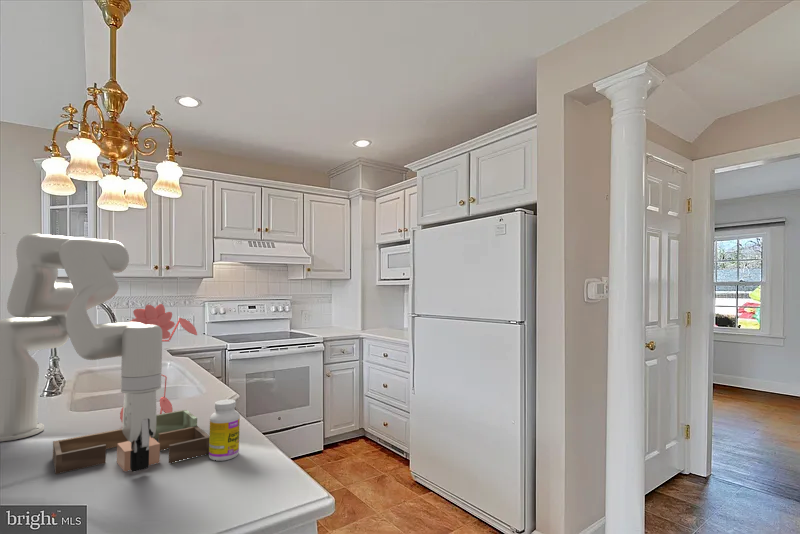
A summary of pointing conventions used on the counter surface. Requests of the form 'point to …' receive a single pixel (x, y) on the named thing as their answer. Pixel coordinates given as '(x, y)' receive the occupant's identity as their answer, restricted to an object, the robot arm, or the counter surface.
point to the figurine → (162, 320)
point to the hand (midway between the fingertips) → (139, 468)
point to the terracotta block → (125, 450)
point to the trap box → (91, 449)
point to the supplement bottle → (224, 431)
